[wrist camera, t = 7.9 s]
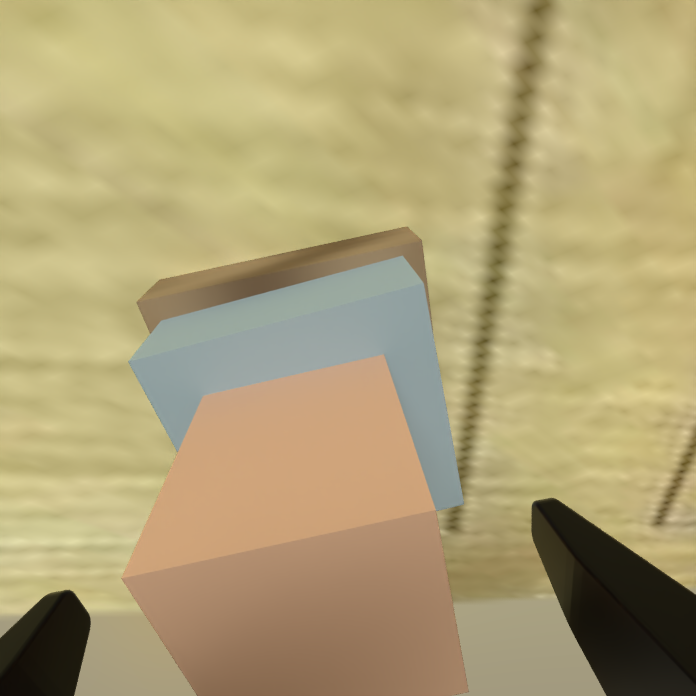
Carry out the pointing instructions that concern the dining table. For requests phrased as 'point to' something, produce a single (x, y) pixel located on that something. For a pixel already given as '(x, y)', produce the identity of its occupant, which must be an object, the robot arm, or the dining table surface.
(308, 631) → the clay block
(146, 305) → the walnut slab
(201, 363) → the blue slab
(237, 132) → the dining table surface
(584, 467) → the dining table surface
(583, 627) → the robot arm
